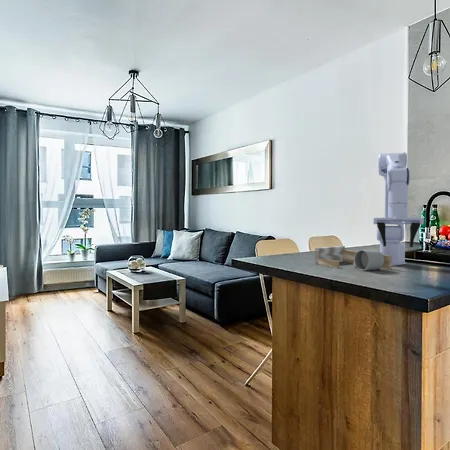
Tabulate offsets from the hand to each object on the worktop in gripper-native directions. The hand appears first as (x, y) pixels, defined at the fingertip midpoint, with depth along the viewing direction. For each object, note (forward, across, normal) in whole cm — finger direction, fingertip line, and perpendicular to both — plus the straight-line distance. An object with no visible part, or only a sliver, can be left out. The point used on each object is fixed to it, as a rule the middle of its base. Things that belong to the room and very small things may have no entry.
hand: (397, 246), depth 116 cm
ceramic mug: (+8, -10, +17) cm, 21 cm away
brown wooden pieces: (+7, -15, +21) cm, 27 cm away
